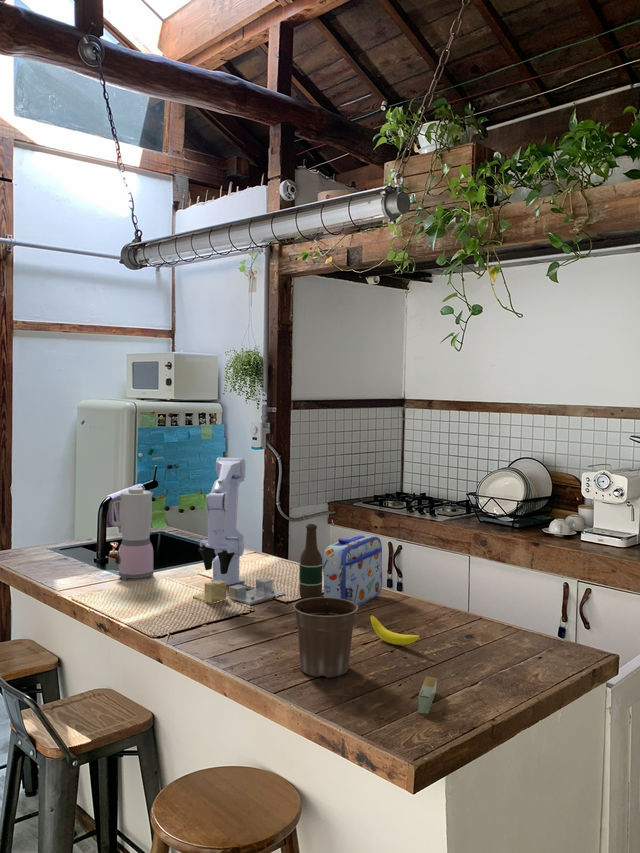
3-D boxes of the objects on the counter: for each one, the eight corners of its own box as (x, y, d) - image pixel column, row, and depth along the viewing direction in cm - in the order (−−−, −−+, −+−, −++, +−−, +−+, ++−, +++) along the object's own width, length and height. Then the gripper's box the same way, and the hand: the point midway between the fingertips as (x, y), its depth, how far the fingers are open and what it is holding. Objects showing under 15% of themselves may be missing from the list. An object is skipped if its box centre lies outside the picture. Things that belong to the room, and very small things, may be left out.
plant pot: (320, 651, 198) (321, 592, 197) (369, 667, 188) (371, 604, 187) (279, 669, 186) (279, 606, 185) (329, 687, 176) (330, 620, 175)
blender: (150, 570, 277) (150, 485, 275) (157, 579, 266) (157, 490, 264) (106, 575, 271) (106, 487, 268) (112, 583, 260) (111, 492, 257)
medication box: (428, 715, 162) (429, 697, 162) (416, 713, 163) (417, 695, 163) (436, 693, 174) (437, 676, 174) (424, 691, 175) (425, 675, 174)
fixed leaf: (229, 598, 245) (229, 586, 245) (264, 588, 257) (264, 577, 256) (249, 604, 238) (249, 593, 238) (285, 594, 250) (285, 583, 250)
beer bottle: (319, 600, 244) (320, 527, 243) (296, 598, 246) (297, 526, 244) (324, 593, 252) (325, 523, 250) (301, 591, 254) (302, 521, 252)
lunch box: (346, 617, 227) (347, 546, 226) (317, 611, 233) (318, 541, 231) (385, 595, 251) (387, 530, 249) (358, 590, 256) (359, 527, 255)
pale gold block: (192, 597, 245) (192, 579, 244) (207, 594, 249) (207, 576, 249) (211, 604, 238) (211, 585, 238) (225, 600, 243) (225, 582, 242)
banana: (415, 655, 197) (416, 632, 196) (365, 636, 211) (365, 614, 211) (423, 653, 199) (423, 629, 198) (372, 633, 213) (373, 612, 213)
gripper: (192, 528, 242) (192, 569, 243) (222, 534, 233) (221, 577, 233) (209, 525, 248) (208, 566, 248) (238, 531, 238) (238, 573, 239)
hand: (216, 571), depth 241 cm, fingers open, 7 cm apart
